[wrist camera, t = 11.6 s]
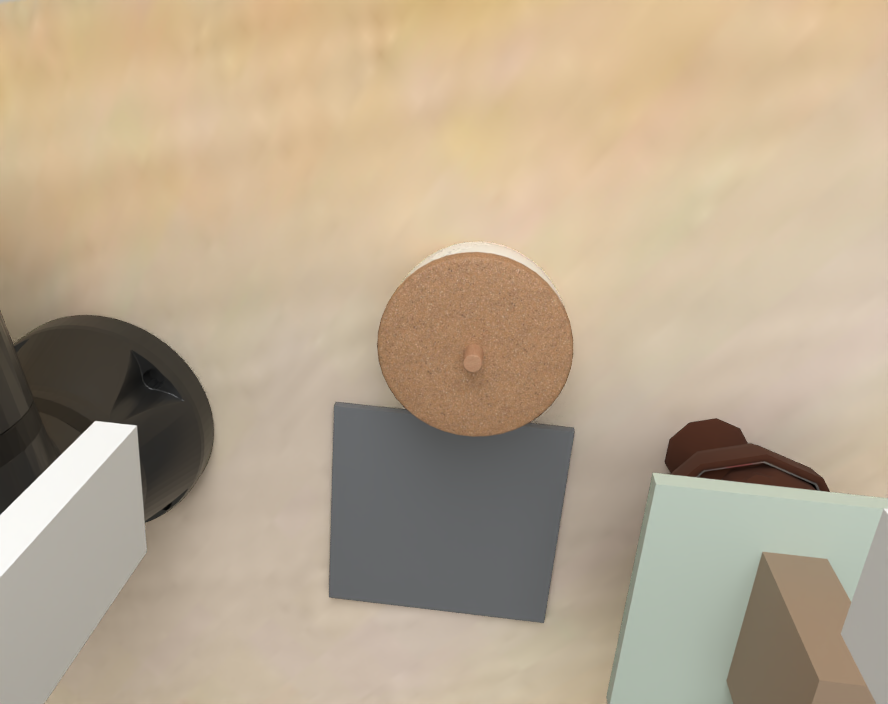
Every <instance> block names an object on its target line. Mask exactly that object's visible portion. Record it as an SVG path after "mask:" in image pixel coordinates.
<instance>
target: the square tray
mask: <svg viewBox="0 0 888 704" xmlns="http://www.w3.org/2000/svg"><path fill="white" fill-rule="evenodd" d="M573 437H574V428H572V427H563V426H554V425H544V424H535V423H528V424H526V425H524V426H522V427H520V428H517V429H515V430H512V431H509V432H506V433H503V434H498V435H492V436H476V437H472V436H463V435H456V434H452V433H449V432H445V431H442V430H439V429H437V428H435V427H432V426H430V425H428V424H426V423H425V422H423V421H421V420H420V419H418V418H417V417H415V416H414V415H413V414H412V413H410V412H409V411H408V410H405V409H396V408H387V407H378V406H368V405H359V404H350V403H341V402H336V403H335V405H334V432H333V469H332V505H331V542H330V578H329V597H331V598H339V599H348V600H356V601H364V602H373V603H381V604H389V605H398V606H406V607H415V608H423V609H431V610H440V611H448V612H457V613H465V614H473V615H482V616H490V617H498V618H507V619H515V620H524V621H532V622H540V623H544V619H545V613H546V607H547V601H548V594H549V588H550V582H551V576H552V569H553V563H554V557H555V550H556V544H557V538H558V532H559V525H560V519H561V513H562V506H563V500H564V494H565V488H566V481H567V475H568V469H569V462H570V456H571V450H572V444H573Z"/></svg>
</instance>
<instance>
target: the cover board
mask: <svg viewBox="0 0 888 704" xmlns="http://www.w3.org/2000/svg"><path fill="white" fill-rule="evenodd" d="M883 509H888V498H880V497H871V496H862V495H852V494H843V493H834V492H825V491H816V490H807V489H797V488H788V487H779V486H770V485H761V484H752V483H743V482H733V481H724V480H715V479H706V478H697V477H688V476H679V475H669V474H660V473H653V474H652V479H651V483H650V488H649V493H648V498H647V503H646V508H645V513H644V517H643V522H642V527H641V532H640V537H639V542H638V546H637V551H636V556H635V561H634V566H633V571H632V575H631V580H630V585H629V590H628V595H627V600H626V605H625V609H624V614H623V619H622V624H621V629H620V634H619V638H618V643H617V648H616V653H615V658H614V663H613V668H612V672H611V677H610V682H609V687H608V692H607V704H876V702H875V700H874V698H873V697H872V695H871V693H870V691H869V689H868V687H867V685H866V683H865V681H864V679H863V677H862V675H861V673H860V671H859V669H858V667H857V665H856V663H855V661H854V659H853V657H852V655H851V653H850V651H849V649H848V647H847V645H846V643H845V641H844V639H843V637H842V635H841V631H842V628H843V625H844V622H845V619H846V617H847V614H848V611H849V608H850V605H851V602H852V599H853V596H854V593H855V590H856V587H857V585H858V582H859V579H860V576H861V573H862V570H863V567H864V564H865V561H866V558H867V555H868V552H869V550H870V547H871V544H872V541H873V538H874V535H875V532H876V529H877V526H878V523H879V520H880V517H881V515H882V512H883Z"/></svg>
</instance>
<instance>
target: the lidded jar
mask: <svg viewBox="0 0 888 704" xmlns="http://www.w3.org/2000/svg"><path fill="white" fill-rule="evenodd" d="M377 348H378V357H379V363H380V366H381V370H382V373H383V376H384V378H385V380H386V382H387V384H388V387H389V388H390V390H391V391H392V393H393V394H394V396H395V397H396V399H397V400H398V401H399V402H400V403H401V404H402V405H403V406H404V407H405V408H406V409H407V410H408V411H409V412H410V413H412V414H413V415H414V416H415V417H417V418H418V419H420V420H421V421H423V422H425V423H426V424H428V425H430V426H432V427H435V428H437V429H439V430H442V431H445V432H449V433H452V434H456V435H463V436H472V437H476V436H492V435H498V434H503V433H506V432H509V431H512V430H515V429H517V428H520V427H522V426H524V425H526V424H528V423H530V422H531V421H532V420H534V419H535V418H537V417H538V416H540V415H541V414H542V413H543V412H544V411H545V410H546V409H547V408H549V407H550V406H551V404H552V403H553V402H554V401H555V399H556V398H557V397H558V395H559V394H560V392H561V390H562V389H563V387H564V385H565V383H566V381H567V378H568V375H569V372H570V369H571V364H572V358H573V337H572V331H571V326H570V321H569V319H568V316H567V313H566V310H565V308H564V305H563V302H562V300H561V297H560V295H559V293H558V291H557V290H556V288H555V286H554V284H553V283H552V281H551V279H550V278H549V277H548V276H547V275H546V273H545V272H544V271H543V270H542V269H541V268H540V267H539V266H538V265H537V264H536V263H535V262H533V261H532V260H531V259H530V258H528V257H526V256H525V255H523V254H522V253H520V252H519V251H516V250H514V249H512V248H510V247H507V246H504V245H500V244H497V243H492V242H483V241H475V242H464V243H459V244H454V245H451V246H449V247H446V248H443V249H441V250H438V251H437V252H435V253H433V254H431V255H429V256H428V257H426V258H425V259H424V260H422V261H421V262H420V263H419V264H417V265H416V266H415V267H414V268H413V269H412V270H411V271H410V273H409V274H408V275H407V276H406V277H405V278H404V279H403V281H402V282H401V284H400V286H399V287H398V288H397V289H396V291H395V292H394V294H393V296H392V297H391V299H390V300H389V302H388V304H387V306H386V309H385V311H384V313H383V316H382V318H381V322H380V327H379V331H378V343H377Z"/></svg>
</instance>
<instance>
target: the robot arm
mask: <svg viewBox="0 0 888 704" xmlns="http://www.w3.org/2000/svg"><path fill="white" fill-rule="evenodd" d="M213 436H214V429H213V419H212V413H211V409H210V406H209V402H208V399H207V397H206V395H205V392H204V390H203V388H202V386H201V384H200V383H199V381H198V379H197V377H196V376H195V375H194V373H193V372H192V370H191V369H190V368H189V366H188V365H187V364H186V363H185V362H184V361H183V359H182V358H181V357H180V356H179V355H178V354H177V353H176V352H175V351H173V350H172V349H171V348H170V347H169V346H168V345H166V344H165V343H164V342H162V341H161V340H160V339H158V338H157V337H155V336H153V335H152V334H150V333H148V332H147V331H145V330H143V329H141V328H139V327H136V326H134V325H132V324H129V323H126V322H123V321H120V320H116V319H113V318H108V317H102V316H92V315H79V316H69V317H64V318H59V319H56V320H53V321H50V322H48V323H45V324H43V325H41V326H39V327H37V328H36V329H34V330H33V331H31V332H30V333H28V334H27V335H25V336H24V337H22V338H21V339H20V340H18V341H17V342H15V343H14V344H13V342H12V340H11V337H10V335H9V332H8V329H7V327H6V324H5V321H4V319H3V316H2V314H1V311H0V704H44V703H45V702H46V700H47V699H48V697H49V696H50V694H51V693H52V691H53V690H54V689H55V687H56V686H57V684H58V683H59V681H60V680H61V678H62V677H63V675H64V674H65V672H66V671H67V669H68V668H69V666H70V665H71V663H72V662H73V660H74V659H75V657H76V656H77V655H78V653H79V652H80V650H81V649H82V647H83V646H84V644H85V643H86V641H87V640H88V638H89V637H90V635H91V634H92V632H93V631H94V629H95V628H96V626H97V625H98V623H99V622H100V620H101V619H102V618H103V616H104V615H105V613H106V612H107V610H108V609H109V607H110V606H111V604H112V603H113V601H114V600H115V598H116V597H117V595H118V594H119V592H120V591H121V589H122V588H123V586H124V585H125V584H126V582H127V581H128V579H129V578H130V576H131V575H132V573H133V572H134V570H135V569H136V567H137V566H138V564H139V563H140V561H141V560H142V558H143V557H144V555H145V554H146V552H147V546H146V533H145V522H148V521H151V520H153V519H155V518H157V517H159V516H161V515H163V514H164V513H166V512H168V511H169V510H171V509H172V508H173V507H175V506H176V505H177V504H178V503H179V502H180V501H181V500H182V499H183V498H184V497H185V496H186V495H187V494H188V493H189V491H190V490H191V489H192V487H193V486H194V484H195V483H196V481H197V480H198V478H199V477H200V475H201V474H202V472H203V471H204V469H205V467H206V465H207V463H208V460H209V457H210V454H211V450H212V445H213ZM841 635H842V637H843V639H844V641H845V643H846V645H847V647H848V649H849V651H850V653H851V655H852V657H853V659H854V661H855V663H856V665H857V667H858V669H859V671H860V673H861V675H862V677H863V679H864V681H865V683H866V685H867V687H868V689H869V691H870V693H871V695H872V697H873V698H874V700H875V702H876V704H888V509H883V512H882V515H881V517H880V520H879V523H878V526H877V529H876V532H875V535H874V538H873V541H872V544H871V547H870V550H869V552H868V555H867V558H866V561H865V564H864V567H863V570H862V573H861V576H860V579H859V582H858V585H857V587H856V590H855V593H854V596H853V599H852V602H851V605H850V608H849V611H848V614H847V617H846V619H845V622H844V625H843V628H842V631H841Z"/></svg>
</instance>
